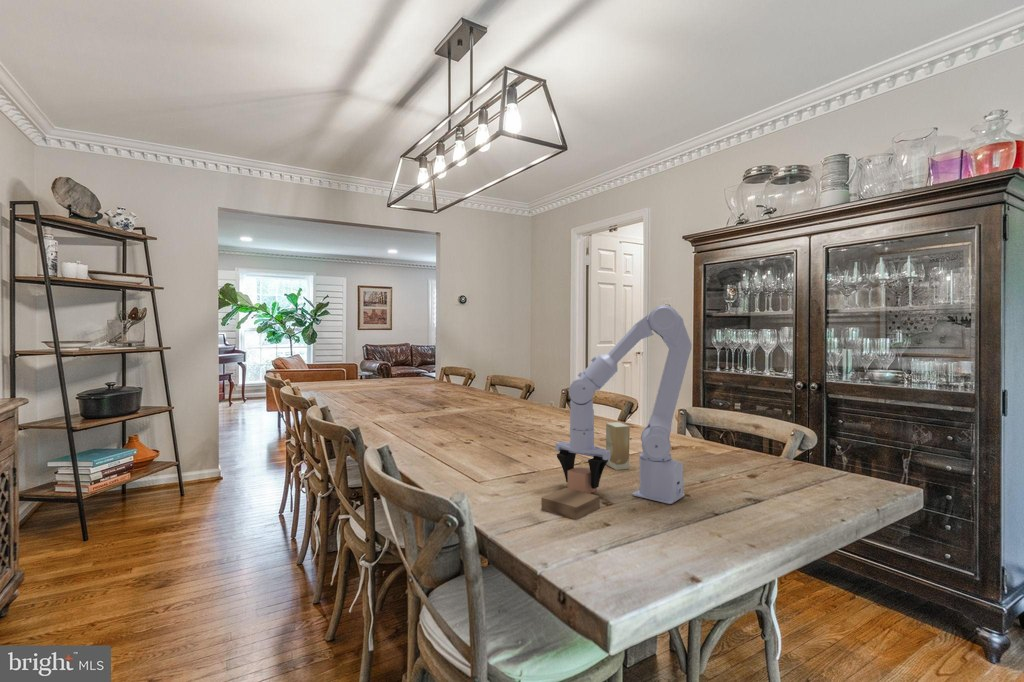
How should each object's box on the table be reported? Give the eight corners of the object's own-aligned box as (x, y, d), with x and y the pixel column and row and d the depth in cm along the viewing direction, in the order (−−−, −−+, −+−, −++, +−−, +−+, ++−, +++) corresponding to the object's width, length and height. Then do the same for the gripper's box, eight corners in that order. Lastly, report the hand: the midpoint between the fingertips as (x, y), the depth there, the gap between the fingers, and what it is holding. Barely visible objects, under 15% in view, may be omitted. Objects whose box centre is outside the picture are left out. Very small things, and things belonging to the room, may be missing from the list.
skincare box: (605, 464, 142) (605, 422, 141) (618, 463, 143) (618, 421, 143) (616, 470, 135) (616, 426, 135) (630, 469, 137) (630, 425, 137)
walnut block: (599, 509, 107) (599, 496, 107) (576, 522, 100) (576, 507, 100) (565, 500, 113) (565, 487, 113) (541, 511, 106) (541, 497, 106)
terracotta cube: (596, 490, 119) (596, 469, 119) (585, 495, 115) (585, 474, 115) (579, 486, 122) (579, 466, 122) (567, 491, 118) (567, 470, 118)
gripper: (617, 429, 116) (617, 486, 117) (566, 422, 126) (567, 475, 126) (601, 434, 111) (601, 494, 111) (550, 426, 121) (550, 481, 121)
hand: (582, 484), depth 118 cm, fingers open, 7 cm apart
